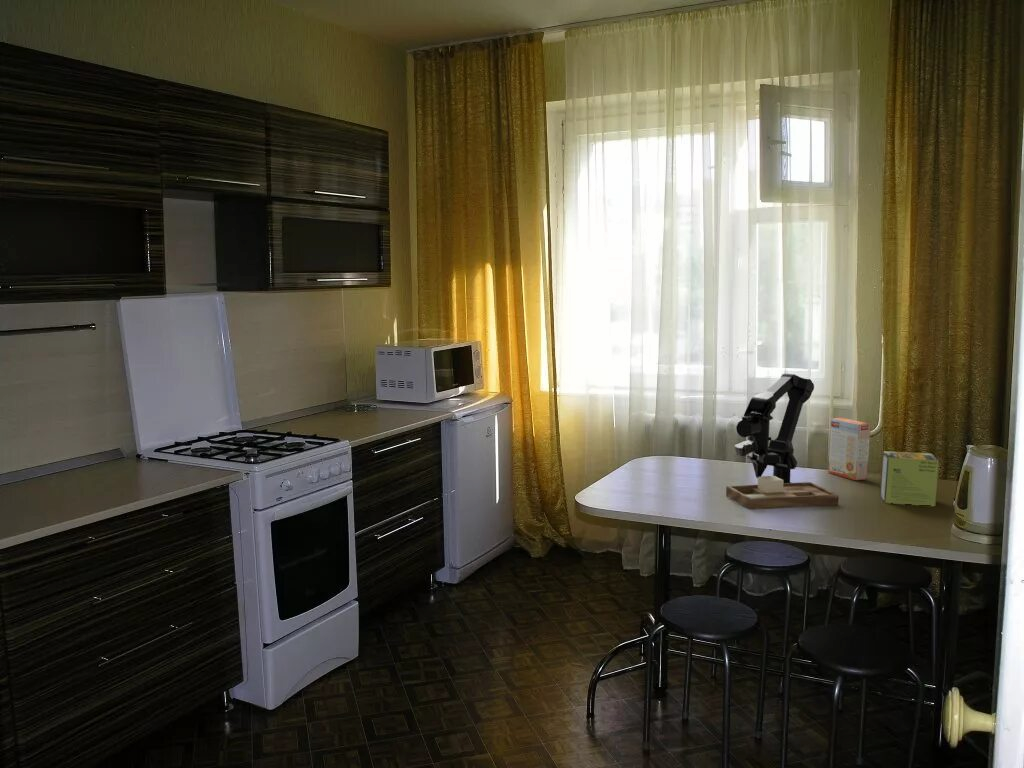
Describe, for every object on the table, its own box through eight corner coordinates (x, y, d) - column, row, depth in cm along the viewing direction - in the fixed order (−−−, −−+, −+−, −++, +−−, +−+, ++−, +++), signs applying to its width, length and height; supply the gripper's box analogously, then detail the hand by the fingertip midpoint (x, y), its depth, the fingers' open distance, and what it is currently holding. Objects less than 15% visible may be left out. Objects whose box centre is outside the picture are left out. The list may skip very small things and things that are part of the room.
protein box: (936, 506, 278) (939, 459, 276) (884, 503, 281) (888, 457, 279) (928, 498, 288) (931, 453, 286) (879, 495, 291) (882, 450, 289)
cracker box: (868, 480, 312) (871, 423, 309) (855, 481, 310) (858, 424, 307) (840, 471, 325) (843, 416, 322) (827, 472, 323) (830, 417, 320)
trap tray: (726, 495, 289) (726, 485, 289) (810, 491, 296) (810, 482, 295) (749, 509, 273) (750, 499, 272) (838, 504, 279) (838, 495, 279)
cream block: (757, 488, 290) (758, 476, 289) (773, 487, 291) (774, 475, 290) (766, 492, 284) (766, 480, 283) (782, 491, 285) (783, 480, 284)
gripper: (726, 429, 301) (724, 472, 303) (751, 439, 283) (749, 486, 285) (755, 428, 303) (753, 471, 305) (782, 438, 285) (780, 484, 287)
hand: (758, 478), depth 295 cm, fingers closed
